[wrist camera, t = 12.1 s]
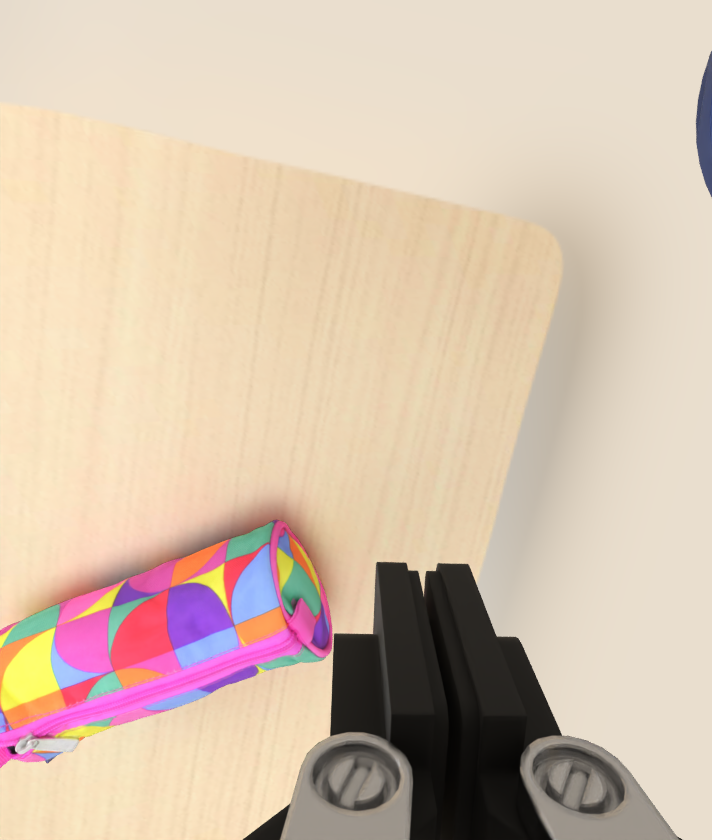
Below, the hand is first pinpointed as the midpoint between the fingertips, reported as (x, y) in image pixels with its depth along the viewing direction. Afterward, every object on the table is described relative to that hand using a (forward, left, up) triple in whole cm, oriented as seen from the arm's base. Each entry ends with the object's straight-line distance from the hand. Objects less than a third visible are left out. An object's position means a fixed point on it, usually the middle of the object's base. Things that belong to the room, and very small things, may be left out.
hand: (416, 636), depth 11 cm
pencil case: (+17, -13, -29) cm, 36 cm away
